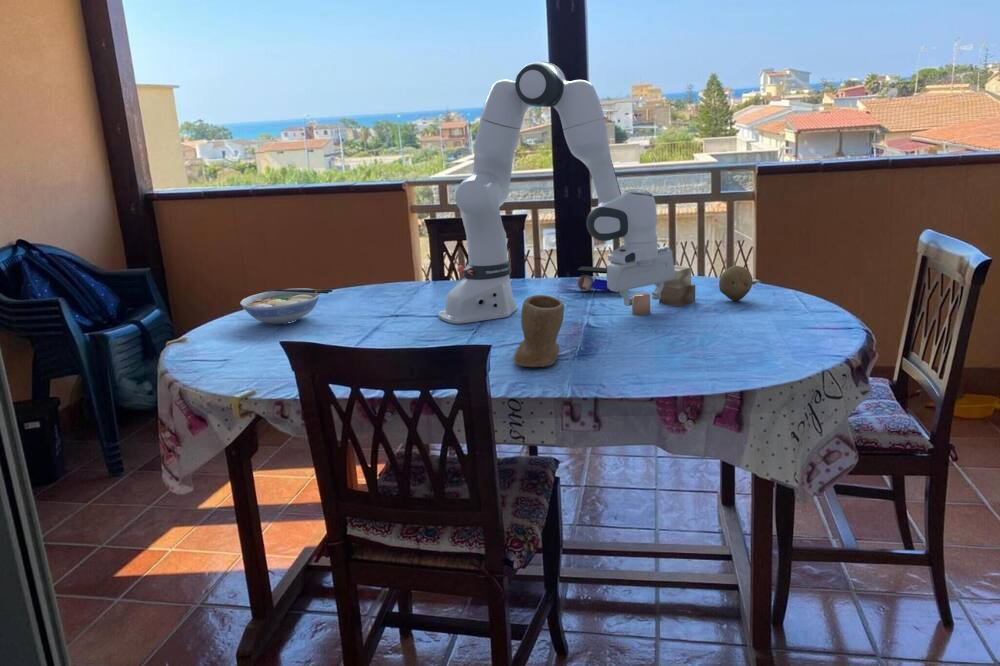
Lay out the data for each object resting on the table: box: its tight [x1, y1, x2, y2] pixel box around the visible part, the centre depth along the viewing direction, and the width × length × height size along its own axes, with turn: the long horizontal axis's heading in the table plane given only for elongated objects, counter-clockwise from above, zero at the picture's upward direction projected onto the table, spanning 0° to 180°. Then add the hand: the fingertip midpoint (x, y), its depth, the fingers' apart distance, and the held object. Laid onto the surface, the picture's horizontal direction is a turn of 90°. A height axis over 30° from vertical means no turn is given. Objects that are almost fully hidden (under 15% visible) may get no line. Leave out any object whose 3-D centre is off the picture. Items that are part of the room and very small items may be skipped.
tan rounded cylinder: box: [631, 292, 651, 316], centre depth 217 cm, size 5×5×5 cm
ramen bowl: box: [239, 287, 333, 325], centre depth 234 cm, size 25×23×8 cm
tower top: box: [664, 264, 692, 289], centre depth 223 cm, size 6×6×5 cm
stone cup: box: [512, 294, 565, 368], centre depth 182 cm, size 15×12×15 cm
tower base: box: [658, 283, 696, 308], centre depth 224 cm, size 7×7×5 cm
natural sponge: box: [718, 265, 754, 302], centre depth 220 cm, size 9×9×10 cm
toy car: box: [576, 265, 620, 294], centre depth 244 cm, size 7×8×15 cm
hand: (642, 302), depth 216 cm, fingers open, 8 cm apart
